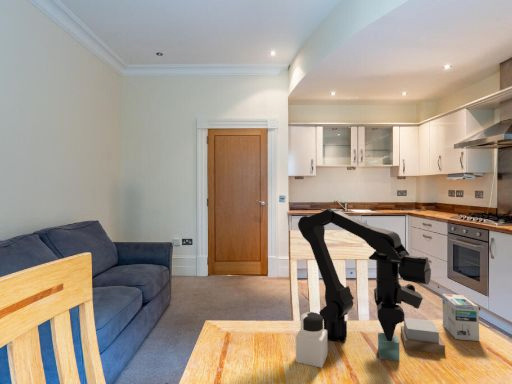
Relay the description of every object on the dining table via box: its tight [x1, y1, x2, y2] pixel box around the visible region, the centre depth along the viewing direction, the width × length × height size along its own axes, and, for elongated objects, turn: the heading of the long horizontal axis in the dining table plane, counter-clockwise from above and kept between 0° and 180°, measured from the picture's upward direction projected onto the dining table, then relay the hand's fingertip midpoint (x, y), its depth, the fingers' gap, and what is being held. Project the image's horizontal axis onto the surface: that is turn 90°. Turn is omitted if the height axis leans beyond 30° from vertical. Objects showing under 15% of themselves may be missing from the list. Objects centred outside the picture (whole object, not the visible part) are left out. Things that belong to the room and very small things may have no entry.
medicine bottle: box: [295, 311, 329, 368], centre depth 84 cm, size 7×7×12 cm
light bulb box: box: [441, 293, 480, 342], centre depth 98 cm, size 11×7×11 cm, turn 168°
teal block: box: [377, 332, 400, 362], centre depth 85 cm, size 5×5×5 cm
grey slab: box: [403, 317, 440, 343], centre depth 92 cm, size 8×8×3 cm
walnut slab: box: [400, 325, 446, 355], centre depth 92 cm, size 10×10×3 cm
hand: (387, 333), depth 86 cm, fingers open, 9 cm apart
